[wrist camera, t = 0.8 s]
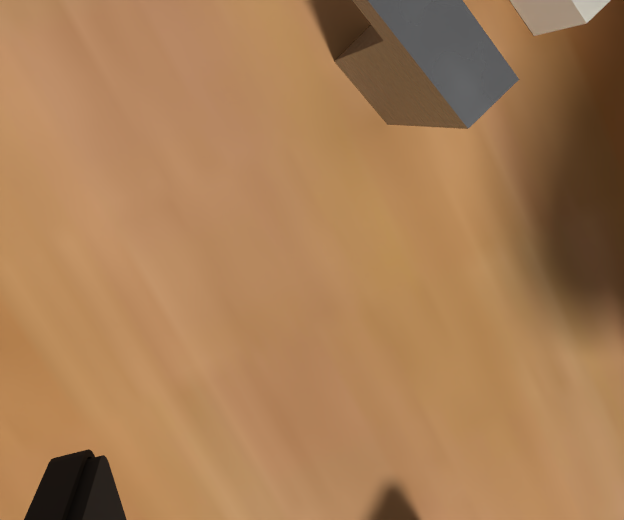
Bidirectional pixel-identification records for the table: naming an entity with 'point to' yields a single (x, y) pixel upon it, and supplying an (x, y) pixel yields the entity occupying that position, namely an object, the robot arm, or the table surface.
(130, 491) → the table surface
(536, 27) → the slotted block
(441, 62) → the gray metal ingot
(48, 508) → the robot arm
